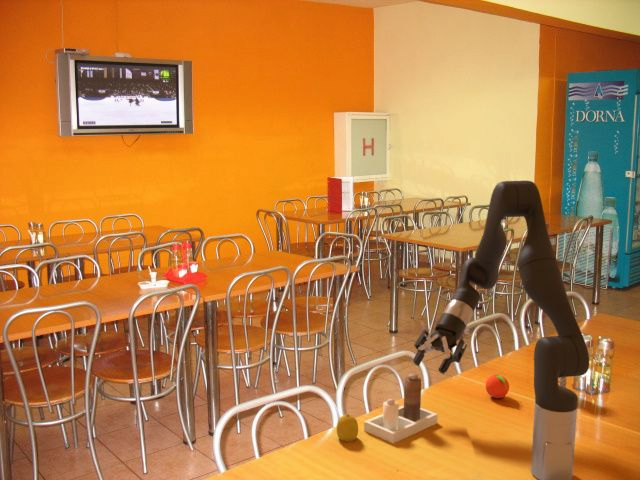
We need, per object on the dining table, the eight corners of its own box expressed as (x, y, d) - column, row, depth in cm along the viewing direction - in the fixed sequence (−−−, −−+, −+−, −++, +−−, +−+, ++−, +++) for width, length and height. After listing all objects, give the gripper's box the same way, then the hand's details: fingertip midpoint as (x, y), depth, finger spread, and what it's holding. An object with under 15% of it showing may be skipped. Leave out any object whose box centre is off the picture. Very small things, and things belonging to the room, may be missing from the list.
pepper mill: (420, 425, 183) (422, 378, 181) (403, 425, 183) (405, 377, 181) (419, 418, 187) (420, 372, 185) (403, 418, 187) (404, 371, 185)
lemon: (356, 449, 172) (356, 419, 171) (334, 447, 173) (334, 417, 172) (359, 440, 177) (360, 410, 176) (338, 437, 179) (338, 408, 177)
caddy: (408, 416, 192) (408, 403, 191) (437, 428, 185) (437, 414, 184) (363, 435, 180) (364, 421, 179) (392, 448, 173) (393, 433, 172)
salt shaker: (398, 434, 177) (399, 401, 176) (383, 434, 177) (383, 401, 176) (397, 428, 181) (397, 396, 180) (382, 428, 181) (382, 396, 180)
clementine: (515, 401, 203) (517, 378, 202) (496, 404, 201) (497, 381, 200) (499, 391, 211) (500, 369, 210) (480, 394, 208) (481, 372, 207)
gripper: (428, 307, 196) (401, 354, 190) (470, 317, 186) (443, 367, 180) (439, 321, 201) (413, 368, 195) (481, 332, 190) (455, 382, 184)
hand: (428, 368), depth 187 cm, fingers open, 8 cm apart
